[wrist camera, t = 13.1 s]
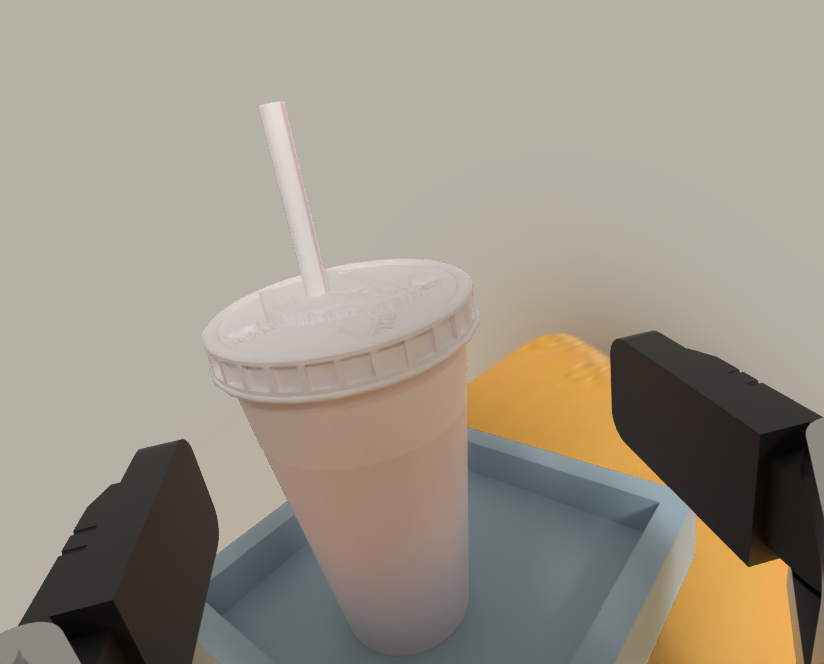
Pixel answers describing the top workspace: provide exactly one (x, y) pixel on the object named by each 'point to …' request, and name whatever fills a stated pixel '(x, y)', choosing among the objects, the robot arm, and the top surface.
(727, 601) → the top surface
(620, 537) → the square pastel tray
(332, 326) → the smoothie
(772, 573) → the top surface
